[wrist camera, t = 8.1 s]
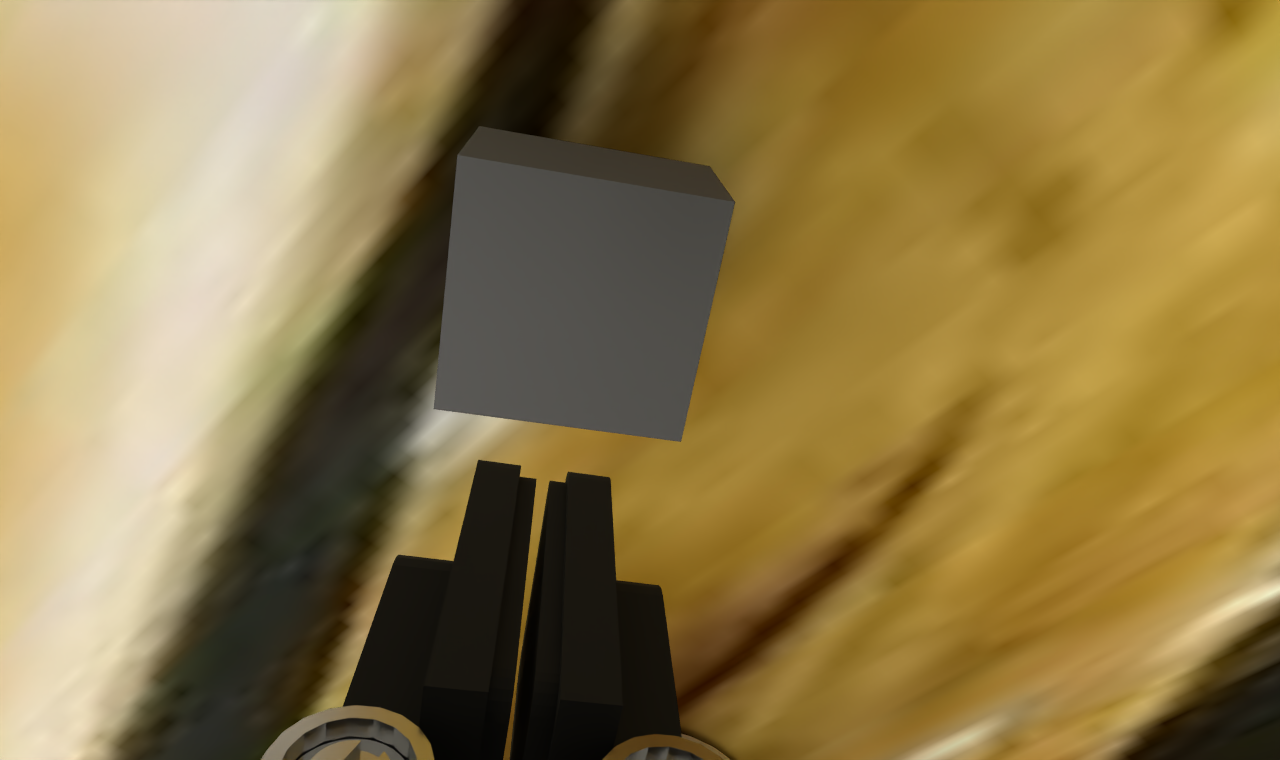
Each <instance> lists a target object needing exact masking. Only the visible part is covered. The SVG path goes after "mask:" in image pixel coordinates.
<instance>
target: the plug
mask: <svg viewBox="0 0 1280 760" xmlns="http://www.w3.org/2000/svg"><path fill="white" fill-rule="evenodd" d="M734 204H735V201H734V200H733V199H732V197H731V196H730V194H729V193H728V191H727V190H726V189H725V187H724V186H723V184H722V183H721V182H720V180H719V179H718V177H717V176H716V175H715V173H714V172H713V170H712V169H711V167H710V166H705V165H699V164H693V163H688V162H682V161H676V160H670V159H665V158H659V157H653V156H648V155H642V154H636V153H630V152H625V151H619V150H613V149H607V148H602V147H596V146H590V145H584V144H579V143H573V142H567V141H562V140H556V139H550V138H544V137H539V136H533V135H527V134H521V133H516V132H510V131H504V130H498V129H493V128H487V127H481V126H479V127H478V129H477V130H476V131H475V133H474V134H473V135H472V137H471V138H470V139H469V141H468V142H467V143H466V144H465V146H464V147H463V148H462V150H461V151H460V152H459V154H458V156H457V166H456V177H455V188H454V198H453V209H452V220H451V231H450V241H449V252H448V263H447V273H446V284H445V295H444V306H443V316H442V327H441V338H440V348H439V359H438V370H437V381H436V391H435V402H434V409H437V410H445V411H452V412H460V413H468V414H475V415H483V416H490V417H498V418H505V419H513V420H521V421H528V422H536V423H543V424H551V425H558V426H566V427H573V428H581V429H589V430H596V431H604V432H611V433H619V434H626V435H634V436H642V437H649V438H657V439H664V440H672V441H679V442H681V439H682V435H683V430H684V426H685V421H686V417H687V412H688V408H689V404H690V399H691V395H692V390H693V386H694V381H695V377H696V373H697V368H698V364H699V359H700V355H701V350H702V346H703V342H704V337H705V333H706V328H707V324H708V319H709V315H710V310H711V306H712V302H713V297H714V293H715V288H716V284H717V279H718V275H719V271H720V266H721V262H722V257H723V253H724V248H725V244H726V240H727V235H728V231H729V226H730V222H731V217H732V213H733V209H734Z"/></svg>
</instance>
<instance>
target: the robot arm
mask: <svg viewBox="0 0 1280 760" xmlns="http://www.w3.org/2000/svg"><path fill="white" fill-rule="evenodd" d="M520 470H521V466H520V465H513V464H505V463H498V462H490V461H482V460H478V463H477V467H476V471H475V476H474V480H473V484H472V488H471V492H470V496H469V500H468V504H467V508H466V513H465V517H464V521H463V525H462V529H461V533H460V537H459V541H458V546H457V550H456V554H455V558H454V561H447V560H439V559H430V558H422V557H413V556H405V555H398V556H397V557H396V558H395V561H394V563H393V566H392V568H391V571H390V574H389V577H388V580H387V583H386V585H385V588H384V591H383V594H382V597H381V600H380V602H379V605H378V608H377V611H376V614H375V617H374V620H373V622H372V625H371V628H370V631H369V634H368V637H367V639H366V642H365V645H364V648H363V651H362V654H361V656H360V659H359V662H358V665H357V668H356V671H355V673H354V676H353V679H352V682H351V685H350V688H349V690H348V693H347V696H346V699H345V702H344V705H343V707H338V708H330V709H327V710H324V711H322V712H319V713H316V714H313V715H311V716H308V717H305V718H304V719H302V720H300V721H299V722H297V723H296V724H294V725H293V726H291V727H290V728H288V729H287V730H285V731H284V732H283V733H282V734H281V735H280V736H279V737H278V738H277V739H276V741H275V742H274V743H273V744H272V745H271V746H270V747H269V748H268V750H267V751H266V752H265V754H264V756H263V757H262V759H261V760H503V756H504V750H505V744H506V738H507V732H508V725H509V719H510V712H511V706H512V698H513V691H514V683H515V675H516V666H517V657H518V647H519V638H520V628H521V619H522V610H523V600H524V591H525V581H526V572H527V563H528V553H529V544H530V534H531V525H532V516H533V506H534V497H535V488H536V479H532V478H525V477H520ZM510 760H730V759H729V758H728V757H726V756H725V755H724V754H722V753H721V752H720V751H718V750H717V749H716V748H714V747H712V746H710V745H708V744H706V743H704V742H702V741H700V740H698V739H696V738H693V737H691V736H688V735H684V734H681V728H680V720H679V713H678V705H677V698H676V690H675V683H674V675H673V668H672V661H671V653H670V646H669V638H668V631H667V623H666V616H665V608H664V601H663V594H662V590H661V588H660V586H659V585H651V584H642V583H634V582H626V581H617V580H616V570H615V552H614V533H613V515H612V497H611V480H610V477H603V476H595V475H588V474H580V473H573V472H568V473H567V477H566V482H565V483H563V482H555V481H550V482H549V487H548V493H547V499H546V505H545V511H544V517H543V523H542V530H541V536H540V542H539V548H538V554H537V560H536V566H535V572H534V579H533V585H532V591H531V597H530V603H529V609H528V615H527V621H526V628H525V634H524V640H523V646H522V652H521V659H520V666H519V674H518V683H517V693H516V703H515V713H514V723H513V732H512V742H511V752H510Z"/></svg>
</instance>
